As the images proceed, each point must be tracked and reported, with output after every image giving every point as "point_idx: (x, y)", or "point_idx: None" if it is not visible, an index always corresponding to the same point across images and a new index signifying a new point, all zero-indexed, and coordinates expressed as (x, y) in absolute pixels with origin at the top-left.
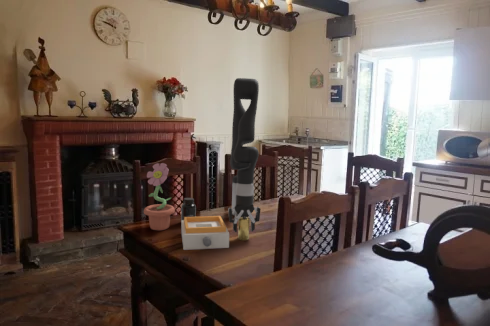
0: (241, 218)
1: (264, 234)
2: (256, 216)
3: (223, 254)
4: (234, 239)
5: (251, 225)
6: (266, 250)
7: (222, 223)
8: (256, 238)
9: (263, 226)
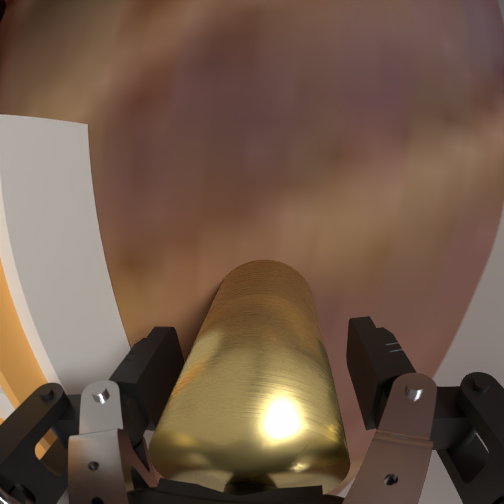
0: (199, 476)
1: (462, 209)
2: (485, 429)
3: (153, 466)
4: (186, 320)
5: (361, 388)
6: (356, 459)
7: (41, 443)
8: (377, 306)
9: (462, 18)
